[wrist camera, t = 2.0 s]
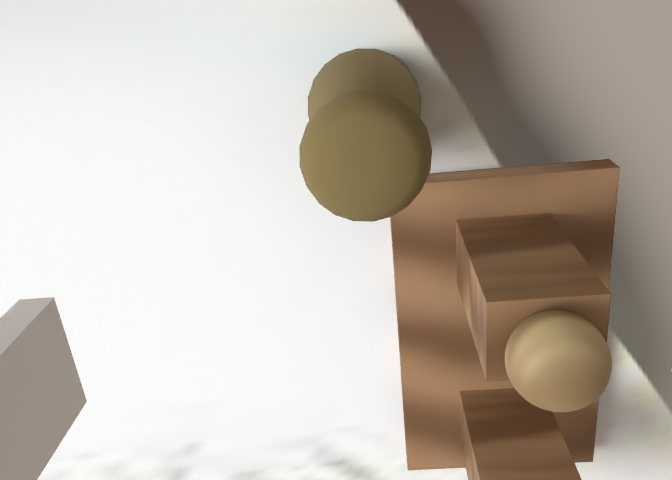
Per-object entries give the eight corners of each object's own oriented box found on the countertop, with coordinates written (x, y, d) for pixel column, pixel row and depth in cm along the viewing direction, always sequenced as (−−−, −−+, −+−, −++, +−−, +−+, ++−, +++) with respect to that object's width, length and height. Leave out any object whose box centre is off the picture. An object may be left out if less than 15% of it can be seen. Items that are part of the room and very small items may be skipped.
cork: (393, 27, 31) (408, 56, 21) (438, 133, 33) (472, 206, 23) (287, 80, 32) (254, 131, 22) (337, 179, 34) (328, 267, 24)
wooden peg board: (387, 177, 34) (403, 302, 21) (609, 159, 33) (762, 279, 21) (406, 453, 42) (425, 665, 29) (585, 445, 41) (685, 659, 29)
